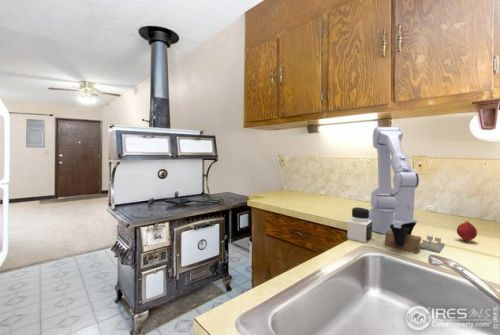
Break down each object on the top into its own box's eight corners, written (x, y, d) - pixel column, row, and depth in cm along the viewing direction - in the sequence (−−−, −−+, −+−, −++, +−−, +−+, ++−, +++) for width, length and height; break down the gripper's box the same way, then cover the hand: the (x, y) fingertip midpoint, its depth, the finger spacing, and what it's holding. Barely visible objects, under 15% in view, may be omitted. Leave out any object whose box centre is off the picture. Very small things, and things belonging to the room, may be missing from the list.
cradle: (439, 253, 85) (439, 244, 84) (418, 248, 89) (418, 239, 89) (444, 245, 92) (445, 237, 91) (424, 240, 96) (425, 233, 96)
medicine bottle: (366, 243, 93) (367, 211, 93) (347, 238, 98) (347, 208, 97) (371, 238, 99) (373, 208, 98) (353, 234, 103) (354, 205, 103)
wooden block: (384, 246, 91) (385, 232, 91) (388, 243, 94) (389, 230, 94) (417, 254, 84) (417, 239, 84) (420, 251, 87) (420, 236, 86)
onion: (466, 238, 99) (468, 218, 98) (480, 244, 93) (482, 222, 92) (452, 238, 98) (453, 218, 98) (465, 244, 93) (466, 222, 92)
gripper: (411, 211, 80) (409, 252, 81) (422, 204, 90) (420, 241, 91) (387, 207, 85) (386, 246, 86) (400, 201, 95) (398, 236, 96)
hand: (402, 243), depth 89 cm, fingers open, 6 cm apart
